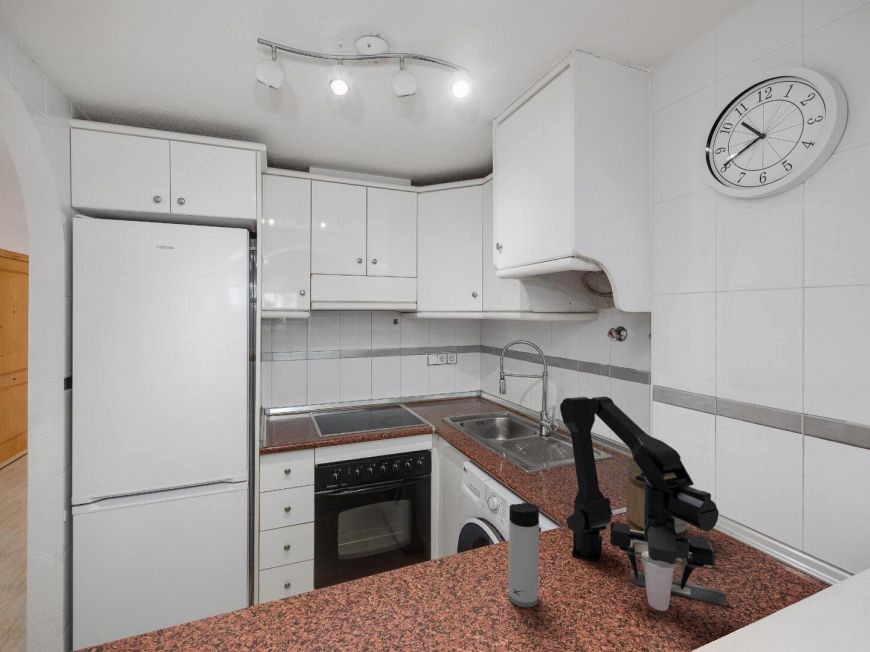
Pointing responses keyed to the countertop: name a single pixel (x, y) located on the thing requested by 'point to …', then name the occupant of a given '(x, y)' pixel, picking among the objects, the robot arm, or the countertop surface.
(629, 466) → the wooden container
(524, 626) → the countertop surface
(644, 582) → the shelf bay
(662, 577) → the smoothie
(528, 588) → the travel mug
